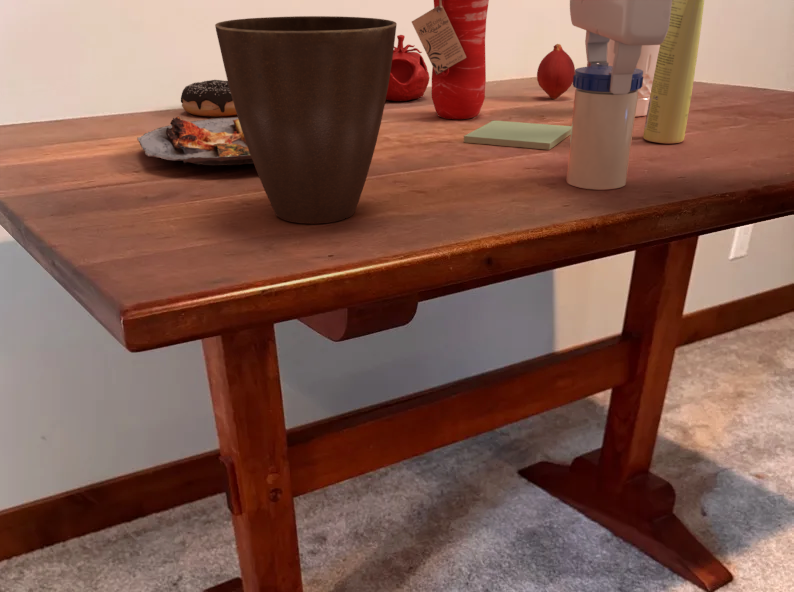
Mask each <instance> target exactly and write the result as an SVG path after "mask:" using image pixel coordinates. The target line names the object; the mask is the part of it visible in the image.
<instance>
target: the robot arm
mask: <svg viewBox="0 0 794 592" xmlns="http://www.w3.org/2000/svg"><path fill="white" fill-rule="evenodd" d="M671 7H672V0H569V15H570V21H571V24H572V26H574V27H576V28H579V29H581V30H584V31H586V32H585V40H584V43H585V54H586V67H589V66H608V64H609V63H608V62H606V61H607V45H608V43H609V41H610V39H611V40H614V41H615V42H614V51H613V53H614V54H615V57H614V62H613V66H612V71H611V72H609V75H608V84H607V89H608V91H609V92H611V93H613V94H614V95H620V94H627V93H629V91H630V88H631V81H632V74H633V72H634V70H635V67H636V65H637V63H638V60H639V58H640V55H641V48H642V45H660V44H662V43H663V41H664V39H665V37H666V34H667V32H668V29H669V24H670V16H671Z"/></svg>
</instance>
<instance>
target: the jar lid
mask: <svg viewBox="0 0 794 592" xmlns="http://www.w3.org/2000/svg"><path fill="white" fill-rule="evenodd" d="M611 71H612V66H589V67H587V66H582V67H578V68H575V75H574V77H573V83H572V86H573V88H575V89H576V88H577V89H581V90H587V91H596V92H609V91H608V89H607V84H608V75H609V72H611ZM642 83H643V70H641V69H637V68H635V70H634V72H633V74H632V81H631V88H630V91H634V90H638V89H640V88H641V87H642Z"/></svg>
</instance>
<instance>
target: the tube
mask: <svg viewBox="0 0 794 592" xmlns="http://www.w3.org/2000/svg"><path fill="white" fill-rule="evenodd" d="M704 6H705V0H672V7H671V16H670V24H669V29H668V32H667V34H666V37H665V39H664V41H663V43H662V44H660V48H659V53H658V58H657V63H656V68H655V73H654V78H653V83H652V89H651V94H650V100H649V105H648V111H647V115H646V116H645V117H646V118H645V121H644V122H645V123H644V128H643V135H642V137H643V139H644V140H645V141H648V142H650V143H651V142H652V143H657V144H679V143H683V141H684V140H685V136H686V131H687V126H688V124H687V123H688V120H689V112H690V107H691V100H692V93H693V88H694V81H695V74H696V68H697V59H698V54H699V53H698V52H699V45H700V38H701V31H702V23H703V16H704V15H703V14H704Z"/></svg>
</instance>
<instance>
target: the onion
mask: <svg viewBox="0 0 794 592" xmlns="http://www.w3.org/2000/svg"><path fill="white" fill-rule="evenodd" d="M575 69H576V67H575V63H574V61H573V59H572V58H571V57H570V55H569V54H568V53H567V52H566V51H565V50H564V49H563V46H562V45H561V44H560V43H556V44H554V45H553V50H552V51H549V52H548V53H547V54H546V55H545V56H544V57H543V58H542V59H541V61H540V63H539V64H538V67H537V71H536V72H537V73H536V80H537V83H538V86H539V87H540V88H541V89H542V90H543V92H545V94H546V95H547V96H548V97H549V98H550V99H552V100H555V99H556V100H557V99H558V98H559V97H561V95H563V94H565V93H566V92H567V91H568V90H569V89H570V87H571V86H572V85H573V77H574V75H575Z"/></svg>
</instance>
